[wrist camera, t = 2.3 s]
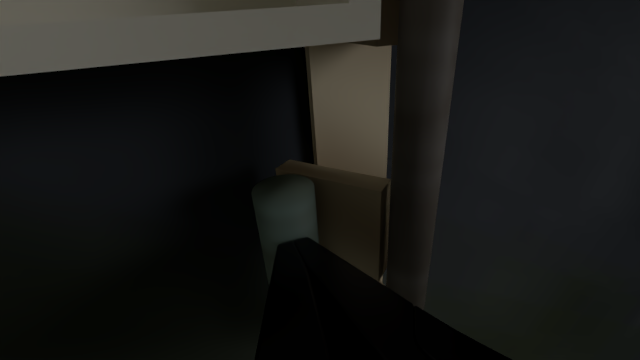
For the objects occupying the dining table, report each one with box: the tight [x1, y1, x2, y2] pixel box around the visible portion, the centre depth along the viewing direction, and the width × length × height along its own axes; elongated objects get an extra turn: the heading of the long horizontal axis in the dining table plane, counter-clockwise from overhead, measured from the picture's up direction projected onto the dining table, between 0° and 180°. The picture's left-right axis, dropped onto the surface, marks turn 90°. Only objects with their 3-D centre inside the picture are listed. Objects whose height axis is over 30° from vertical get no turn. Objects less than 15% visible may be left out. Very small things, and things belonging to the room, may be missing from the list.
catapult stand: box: [305, 0, 400, 284], centre depth 10 cm, size 20×13×3 cm
